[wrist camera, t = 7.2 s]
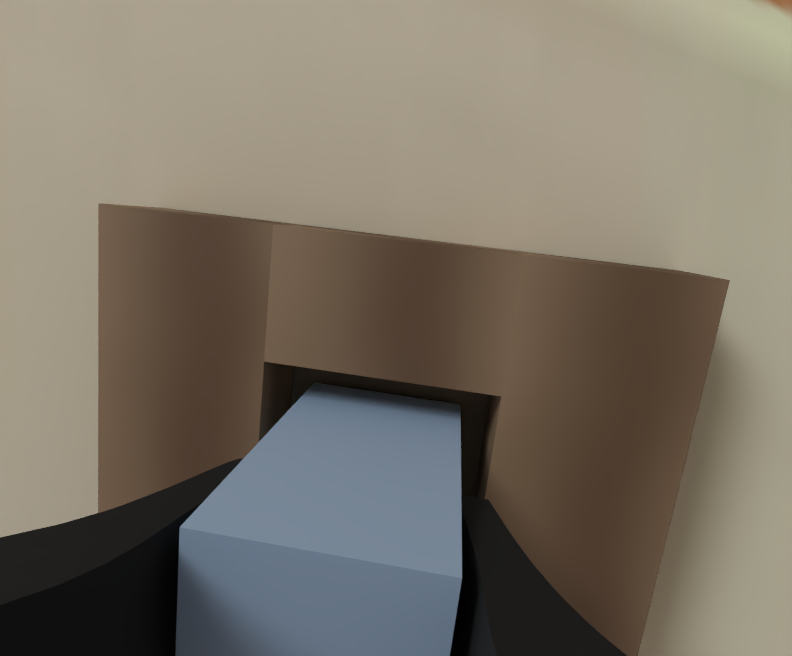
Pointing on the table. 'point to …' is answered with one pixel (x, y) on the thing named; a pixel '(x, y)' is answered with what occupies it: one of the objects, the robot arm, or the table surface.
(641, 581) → the socket block
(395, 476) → the square peg
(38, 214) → the table surface
